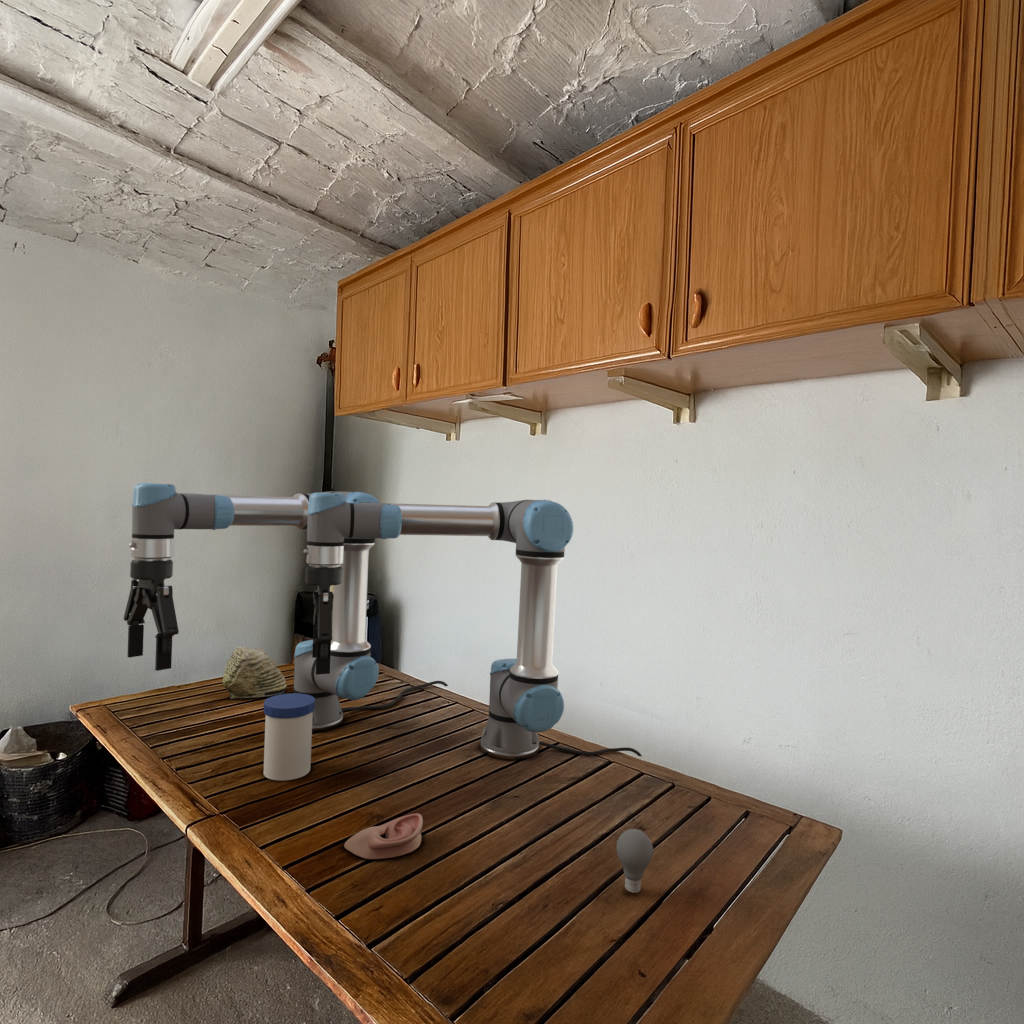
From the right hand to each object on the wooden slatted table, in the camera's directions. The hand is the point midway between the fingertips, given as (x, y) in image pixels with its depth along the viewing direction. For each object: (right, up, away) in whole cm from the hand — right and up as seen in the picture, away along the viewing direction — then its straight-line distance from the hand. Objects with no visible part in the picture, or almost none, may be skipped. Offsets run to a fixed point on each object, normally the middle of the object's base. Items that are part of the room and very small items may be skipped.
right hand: (320, 665), depth 134 cm
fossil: (-40, -25, +64) cm, 79 cm away
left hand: (-34, +2, -5) cm, 34 cm away
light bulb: (+61, -31, -29) cm, 74 cm away
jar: (-11, -27, +11) cm, 31 cm away
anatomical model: (+17, -29, -18) cm, 38 cm away
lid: (-10, -11, +11) cm, 19 cm away
